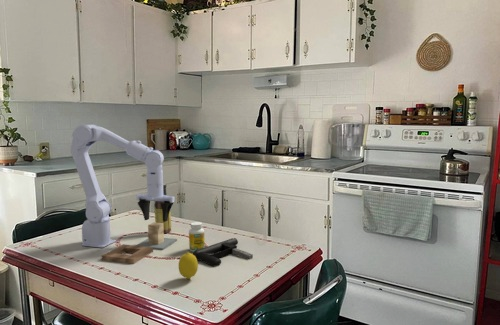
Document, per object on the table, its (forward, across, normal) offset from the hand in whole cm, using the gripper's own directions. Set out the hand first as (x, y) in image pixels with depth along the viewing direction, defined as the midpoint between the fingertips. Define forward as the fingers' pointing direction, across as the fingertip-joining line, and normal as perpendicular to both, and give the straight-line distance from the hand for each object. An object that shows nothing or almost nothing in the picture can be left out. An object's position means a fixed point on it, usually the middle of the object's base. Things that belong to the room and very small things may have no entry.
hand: (156, 220), depth 146 cm
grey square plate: (+9, 0, 0) cm, 9 cm away
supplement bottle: (+9, +17, -2) cm, 19 cm away
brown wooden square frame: (+9, -3, -14) cm, 17 cm away
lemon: (+9, +25, -26) cm, 37 cm away
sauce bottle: (+9, -5, +14) cm, 17 cm away
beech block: (+8, 0, 0) cm, 8 cm away
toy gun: (+9, +29, -5) cm, 31 cm away
